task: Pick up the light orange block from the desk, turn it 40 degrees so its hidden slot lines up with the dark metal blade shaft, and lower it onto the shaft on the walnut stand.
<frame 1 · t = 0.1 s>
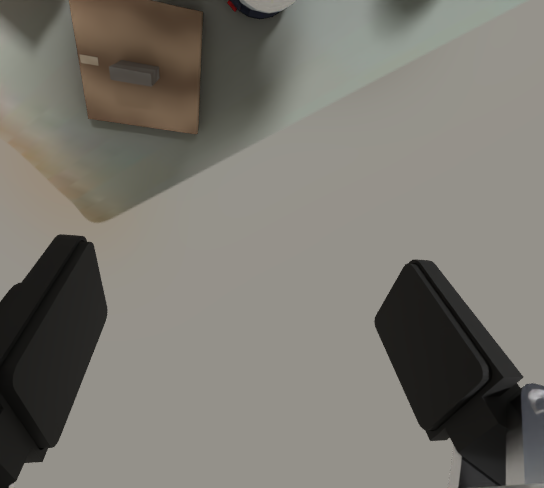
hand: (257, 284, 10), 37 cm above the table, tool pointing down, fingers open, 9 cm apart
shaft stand: (144, 66, 37), on the table
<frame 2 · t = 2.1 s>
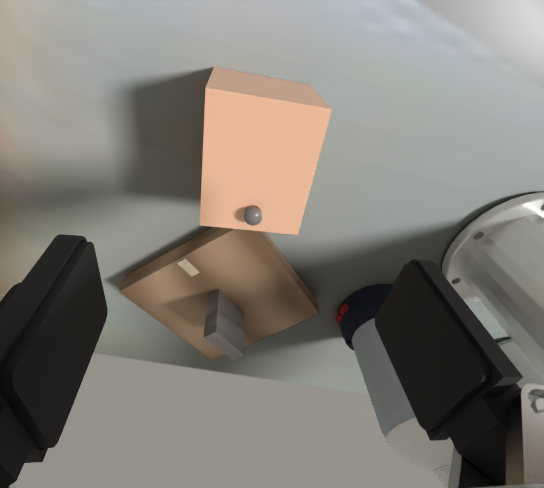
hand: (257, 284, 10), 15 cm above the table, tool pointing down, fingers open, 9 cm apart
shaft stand: (227, 288, 30), on the table
light orange block: (254, 136, 21), on the table
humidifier: (372, 309, 34), on the table
can: (500, 350, 42), on the table
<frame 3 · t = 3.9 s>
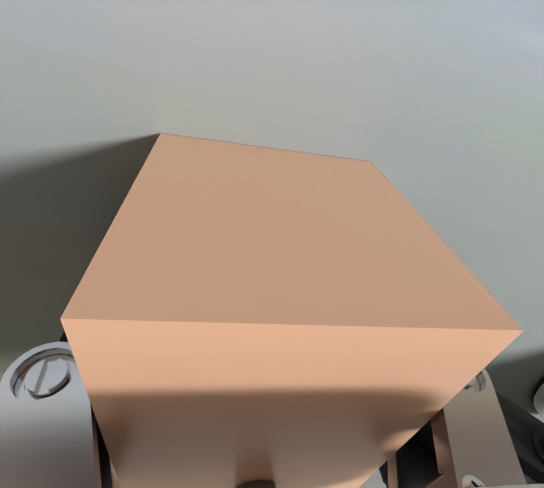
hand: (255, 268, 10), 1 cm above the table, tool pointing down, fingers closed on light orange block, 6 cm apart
light orange block: (254, 252, 11), on the table, touching gripper
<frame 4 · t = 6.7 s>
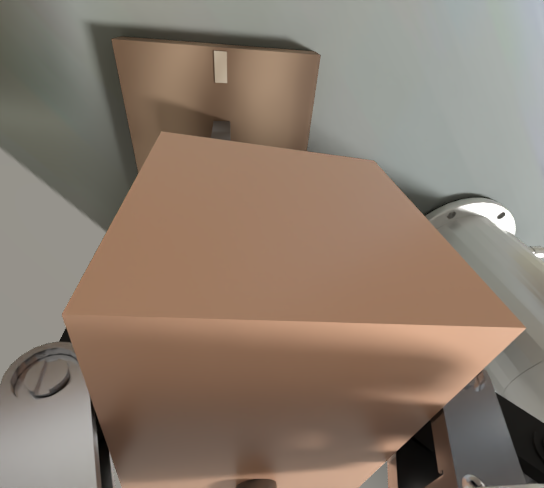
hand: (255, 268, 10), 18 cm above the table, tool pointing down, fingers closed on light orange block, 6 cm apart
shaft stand: (223, 139, 25), on the table
light orange block: (255, 251, 11), point 17 cm above the table, touching gripper
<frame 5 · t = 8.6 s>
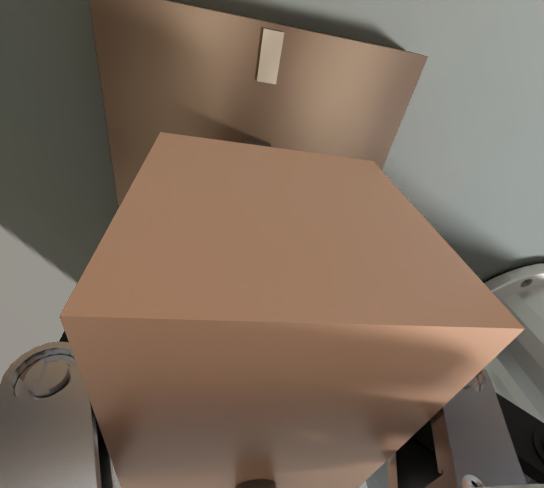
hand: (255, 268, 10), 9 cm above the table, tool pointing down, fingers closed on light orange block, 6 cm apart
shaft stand: (250, 164, 17), on the table
light orange block: (254, 252, 11), point 8 cm above the table, touching gripper
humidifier: (359, 312, 26), on the table
when the fingers open (4 cm above the table, at t = 9.9 s): light orange block drops 2 cm, resting on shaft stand.
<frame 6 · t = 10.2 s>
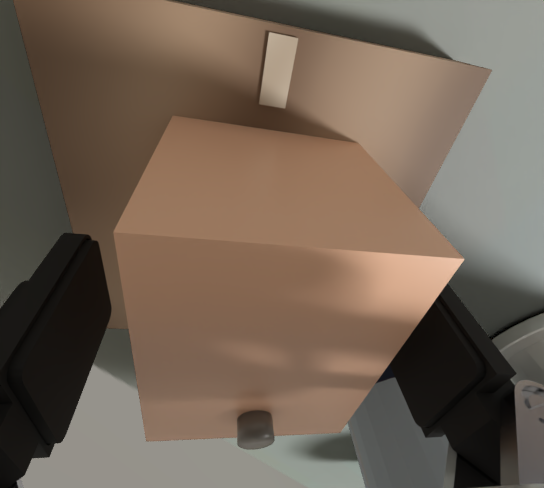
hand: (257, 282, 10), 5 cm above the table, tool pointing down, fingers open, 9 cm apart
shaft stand: (249, 201, 14), on the table
light orange block: (254, 226, 12), point 2 cm above the table, touching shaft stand
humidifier: (375, 354, 23), on the table
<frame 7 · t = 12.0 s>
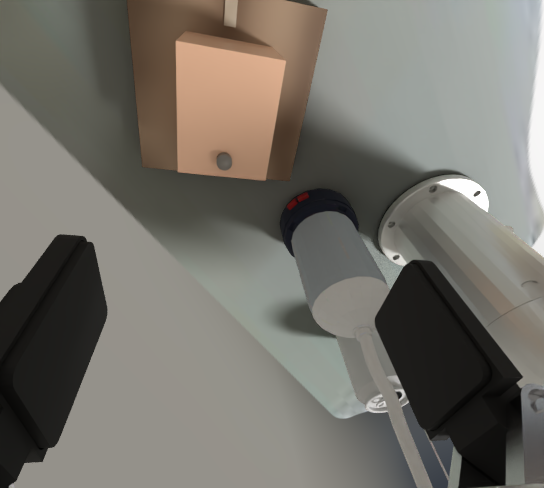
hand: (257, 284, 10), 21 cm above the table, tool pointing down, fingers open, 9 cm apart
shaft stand: (224, 90, 25), on the table
light orange block: (226, 96, 24), point 2 cm above the table, touching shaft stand
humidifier: (315, 219, 35), on the table
can: (357, 324, 49), on the table
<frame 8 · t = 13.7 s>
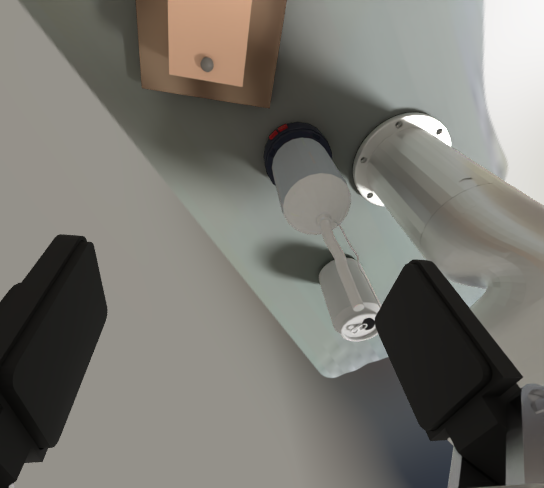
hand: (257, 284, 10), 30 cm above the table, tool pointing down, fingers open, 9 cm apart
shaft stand: (212, 21, 30), on the table
light orange block: (212, 22, 28), point 2 cm above the table, touching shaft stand
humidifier: (295, 154, 39), on the table
can: (338, 270, 53), on the table
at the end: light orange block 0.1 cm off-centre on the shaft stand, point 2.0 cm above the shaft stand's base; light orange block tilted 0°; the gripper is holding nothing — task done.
